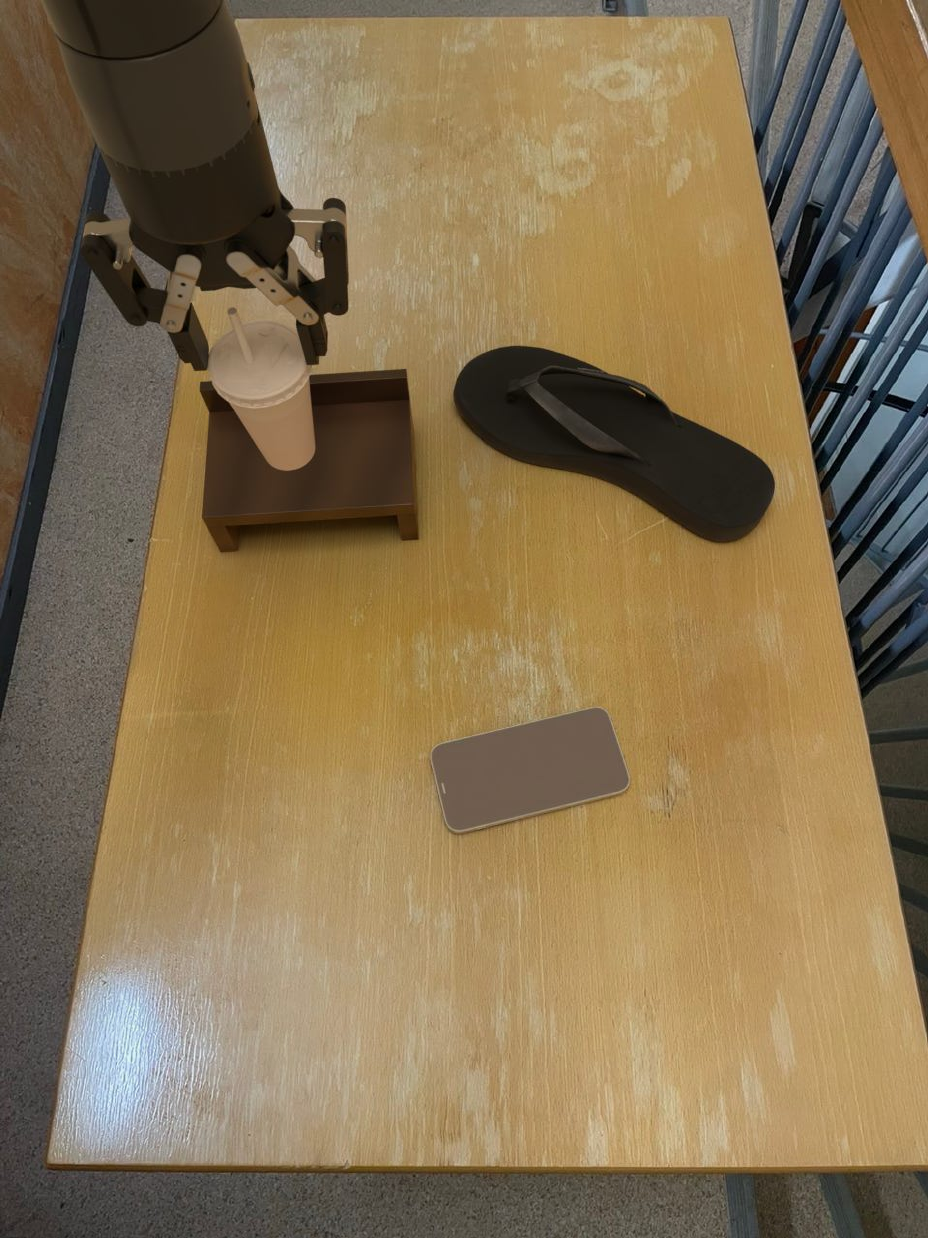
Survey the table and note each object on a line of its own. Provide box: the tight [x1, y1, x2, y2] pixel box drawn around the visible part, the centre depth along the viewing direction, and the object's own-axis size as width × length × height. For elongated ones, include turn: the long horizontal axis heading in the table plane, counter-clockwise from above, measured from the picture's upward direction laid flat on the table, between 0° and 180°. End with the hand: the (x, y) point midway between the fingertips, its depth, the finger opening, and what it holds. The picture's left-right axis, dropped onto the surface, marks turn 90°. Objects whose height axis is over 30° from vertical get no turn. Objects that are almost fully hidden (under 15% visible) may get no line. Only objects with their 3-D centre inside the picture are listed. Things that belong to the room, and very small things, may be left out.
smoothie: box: [207, 306, 315, 471], centre depth 59 cm, size 6×6×14 cm
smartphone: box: [429, 706, 631, 835], centre depth 73 cm, size 7×1×15 cm
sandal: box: [452, 345, 776, 543], centre depth 84 cm, size 13×31×7 cm, turn 65°
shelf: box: [199, 368, 420, 553], centre depth 81 cm, size 18×12×9 cm, turn 93°
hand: (258, 356), depth 57 cm, fingers closed on smoothie, 6 cm apart
